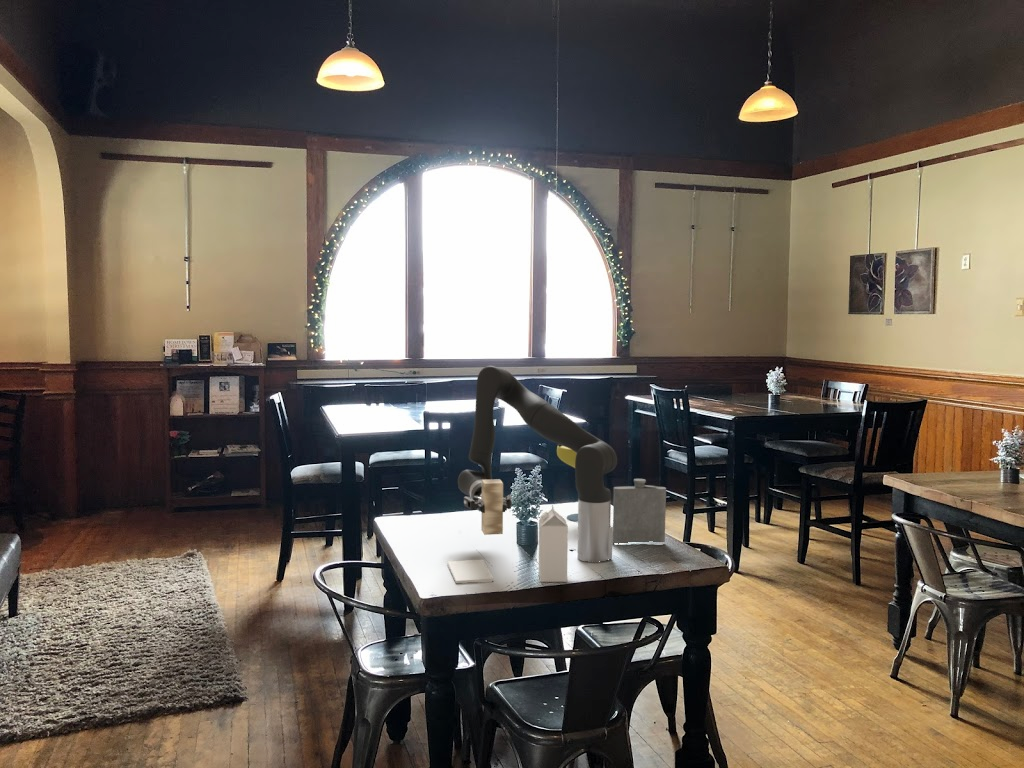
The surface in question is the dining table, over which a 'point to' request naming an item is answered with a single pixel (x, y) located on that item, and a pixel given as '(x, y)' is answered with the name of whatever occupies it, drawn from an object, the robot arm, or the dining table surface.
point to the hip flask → (639, 513)
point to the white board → (470, 571)
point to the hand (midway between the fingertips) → (493, 508)
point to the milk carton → (553, 547)
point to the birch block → (492, 506)
